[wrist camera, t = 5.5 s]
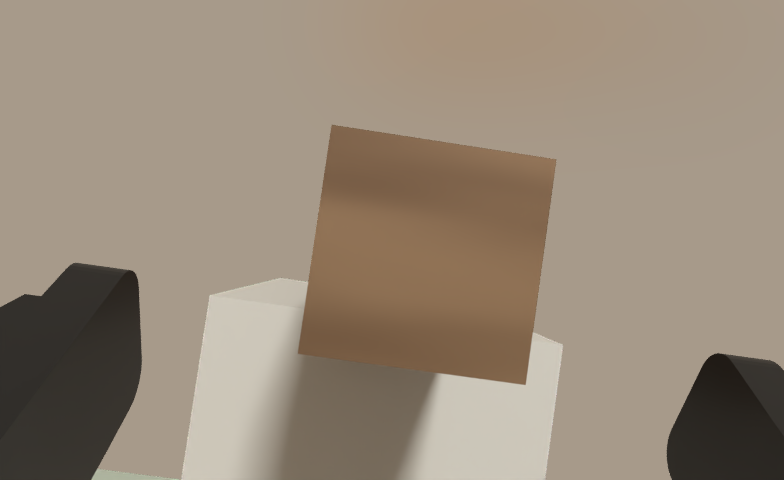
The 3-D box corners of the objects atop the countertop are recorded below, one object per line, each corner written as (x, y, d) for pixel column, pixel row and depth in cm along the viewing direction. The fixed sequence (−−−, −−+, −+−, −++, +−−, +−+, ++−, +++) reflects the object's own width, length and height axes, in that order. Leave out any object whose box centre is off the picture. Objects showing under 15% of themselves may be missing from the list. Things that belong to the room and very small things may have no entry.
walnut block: (525, 385, 10) (556, 159, 10) (297, 353, 10) (331, 124, 10) (409, 296, 34) (418, 228, 34) (340, 287, 33) (350, 218, 34)
